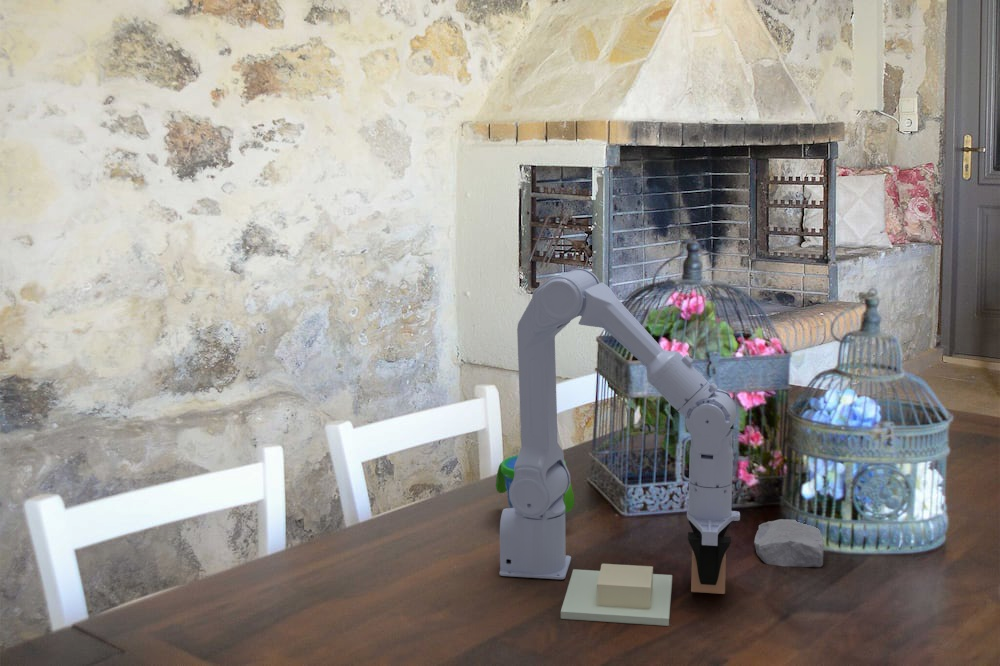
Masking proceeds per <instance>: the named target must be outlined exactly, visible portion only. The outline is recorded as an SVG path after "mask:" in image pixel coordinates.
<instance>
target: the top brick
mask: <svg viewBox="0 0 1000 666" xmlns="http://www.w3.org/2000/svg"><path fill="white" fill-rule="evenodd" d="M726 552H727V551H726ZM726 552H725V554H724V557H723V559H722V563H721V567H720V572H719V577H718V580H717V583H716V585H705V584H701V583H700V580H699V575H698V569H697V562H696V558H695V555H694V552H693V549H692V548H691V575H690V576H691V580H690V581H691V582H690V583H691V585H690V588H691V589H690V591H691V593H702V594H703V593H705V594H722V595H724V594H726V571H727V570H726V565H727V554H726Z"/></svg>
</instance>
